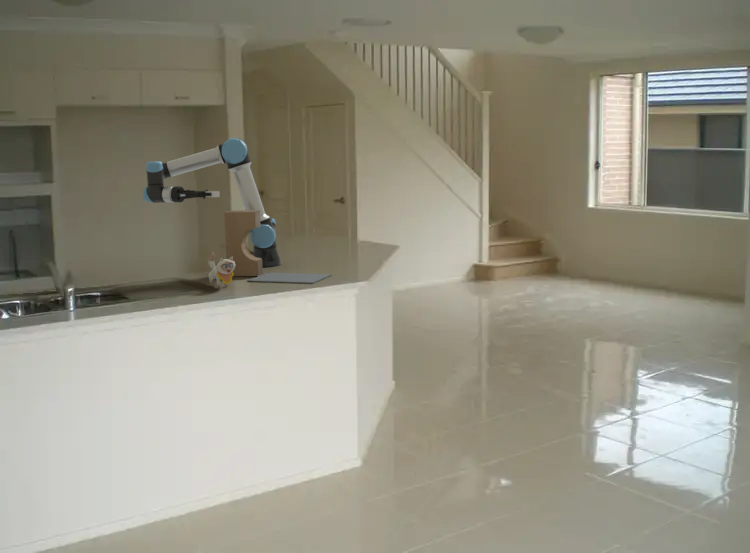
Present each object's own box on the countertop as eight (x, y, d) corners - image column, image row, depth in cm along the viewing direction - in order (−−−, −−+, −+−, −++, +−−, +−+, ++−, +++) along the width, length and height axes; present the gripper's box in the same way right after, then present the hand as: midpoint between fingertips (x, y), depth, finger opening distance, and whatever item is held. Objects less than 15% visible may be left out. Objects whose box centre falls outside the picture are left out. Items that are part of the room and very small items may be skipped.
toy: (220, 290, 376) (218, 255, 374) (200, 285, 392) (198, 251, 389) (239, 288, 382) (237, 253, 379) (219, 282, 397) (217, 249, 394)
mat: (268, 273, 418) (268, 272, 418) (331, 275, 408) (331, 274, 408) (246, 281, 398) (246, 280, 398) (313, 283, 387) (312, 282, 387)
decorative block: (227, 276, 414) (223, 211, 409) (233, 273, 421) (229, 210, 416) (257, 276, 410) (254, 211, 405) (263, 274, 417) (260, 210, 413)
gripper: (181, 201, 427) (226, 200, 420) (167, 203, 415) (212, 203, 407) (180, 185, 426) (225, 184, 418) (166, 187, 414) (211, 186, 406)
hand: (218, 194), depth 413 cm, fingers closed
